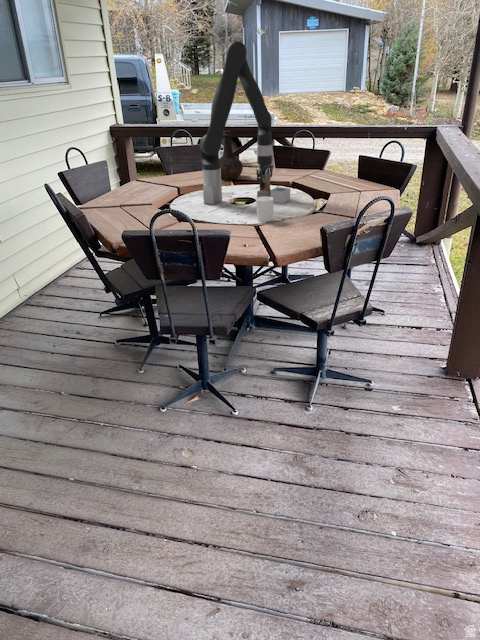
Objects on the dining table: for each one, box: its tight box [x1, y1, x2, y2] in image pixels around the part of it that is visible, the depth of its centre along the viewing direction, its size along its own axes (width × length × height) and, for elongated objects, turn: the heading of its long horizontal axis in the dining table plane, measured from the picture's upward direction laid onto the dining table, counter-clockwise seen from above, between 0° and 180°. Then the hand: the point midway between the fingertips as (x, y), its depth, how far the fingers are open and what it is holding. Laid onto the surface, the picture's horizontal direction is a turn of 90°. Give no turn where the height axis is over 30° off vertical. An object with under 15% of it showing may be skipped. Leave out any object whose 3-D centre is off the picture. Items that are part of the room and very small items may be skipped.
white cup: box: [255, 196, 274, 222], centre depth 222 cm, size 8×8×10 cm
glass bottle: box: [219, 130, 244, 181], centre depth 297 cm, size 18×18×28 cm
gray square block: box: [256, 189, 272, 198], centre depth 256 cm, size 6×6×4 cm
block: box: [259, 172, 271, 192], centre depth 253 cm, size 4×4×9 cm
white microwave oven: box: [270, 186, 291, 204], centre depth 251 cm, size 8×8×6 cm
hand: (264, 187), depth 254 cm, fingers open, 5 cm apart
